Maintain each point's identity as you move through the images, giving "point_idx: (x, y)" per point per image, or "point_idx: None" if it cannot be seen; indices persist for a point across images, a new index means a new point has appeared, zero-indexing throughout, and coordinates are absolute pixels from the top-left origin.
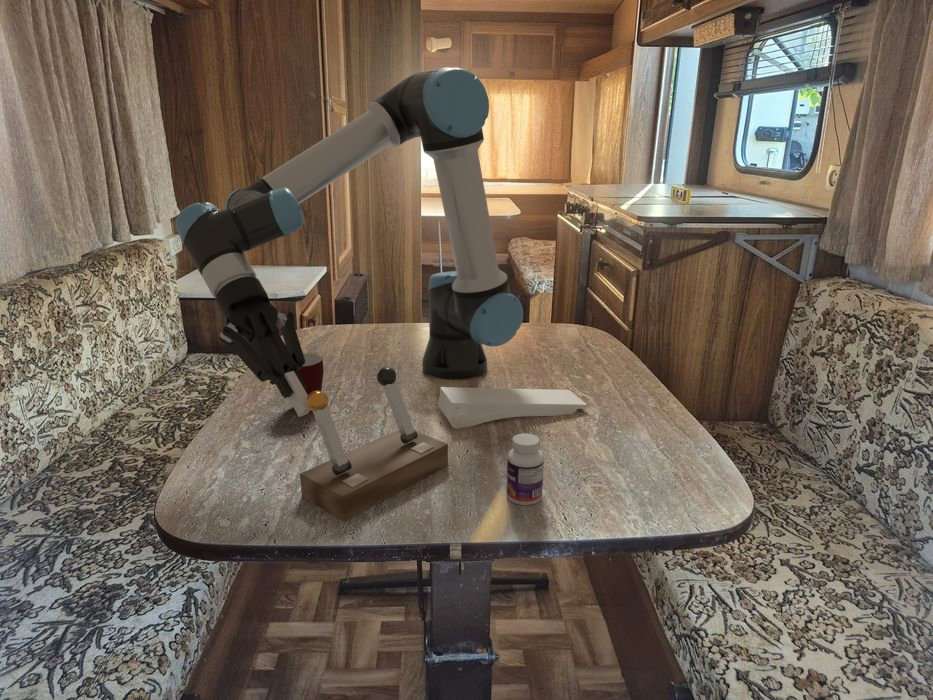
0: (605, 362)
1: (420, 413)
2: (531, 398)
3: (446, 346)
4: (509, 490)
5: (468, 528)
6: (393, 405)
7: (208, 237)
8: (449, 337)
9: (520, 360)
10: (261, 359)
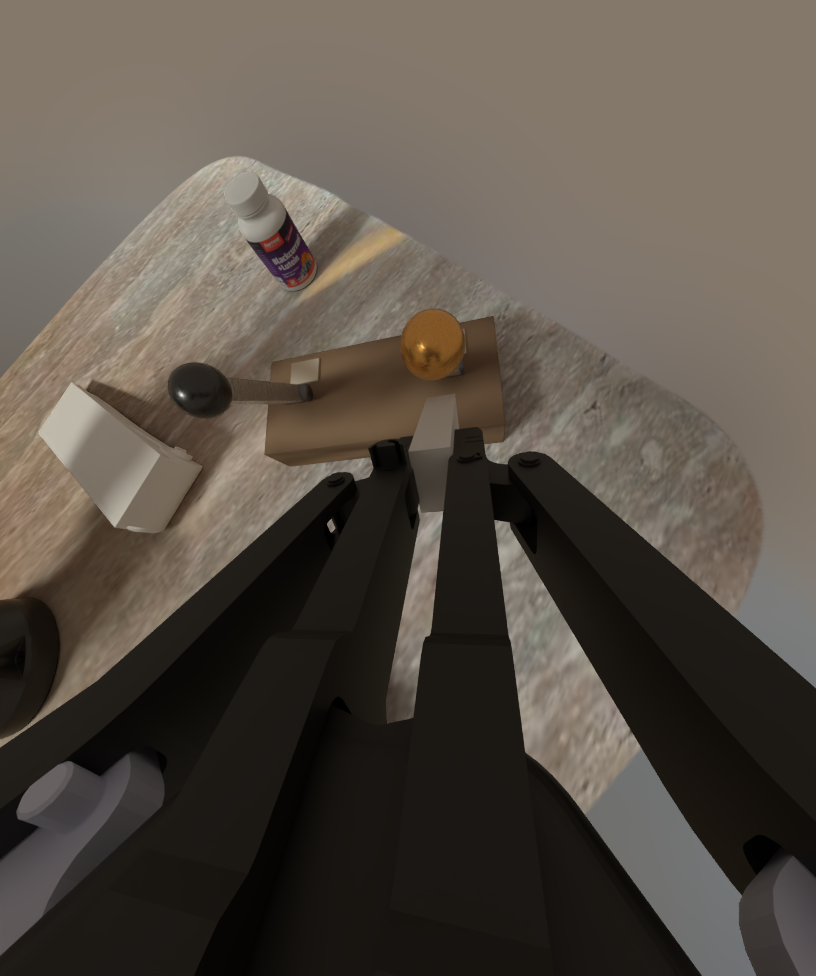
0: None
1: (186, 553)
2: (86, 424)
3: None
4: (308, 263)
5: (389, 255)
6: (265, 388)
7: None
8: None
9: None
10: (545, 499)
